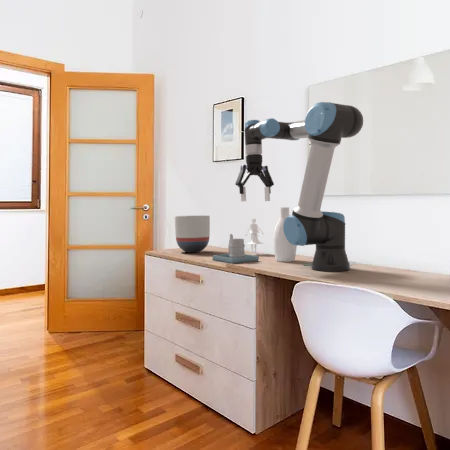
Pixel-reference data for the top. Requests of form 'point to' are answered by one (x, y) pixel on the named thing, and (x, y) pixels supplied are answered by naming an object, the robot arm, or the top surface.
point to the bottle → (283, 240)
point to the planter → (192, 232)
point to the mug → (236, 247)
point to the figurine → (254, 235)
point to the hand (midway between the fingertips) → (255, 201)
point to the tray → (227, 258)
